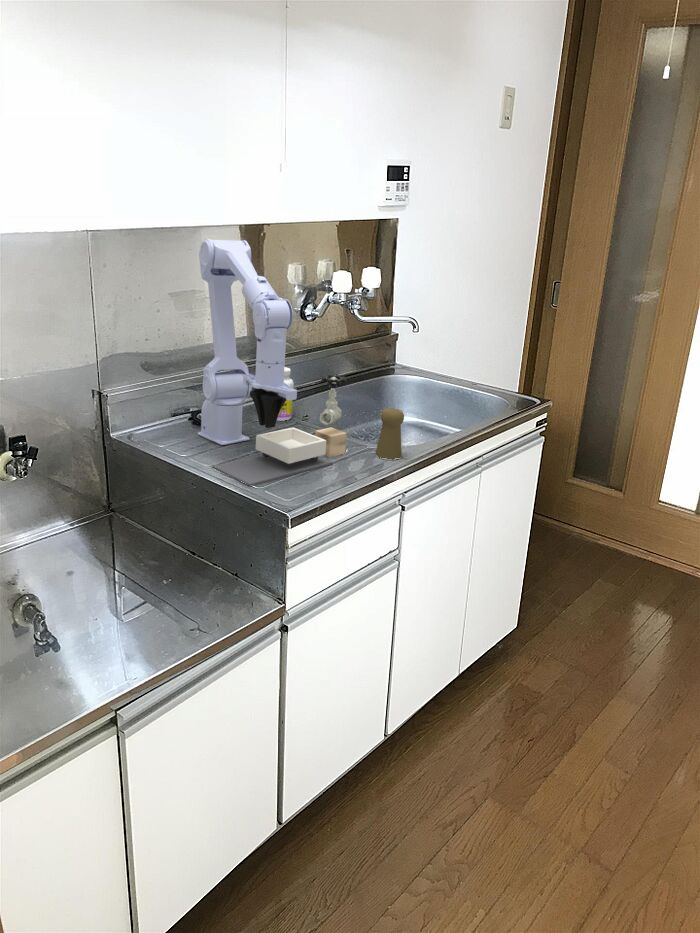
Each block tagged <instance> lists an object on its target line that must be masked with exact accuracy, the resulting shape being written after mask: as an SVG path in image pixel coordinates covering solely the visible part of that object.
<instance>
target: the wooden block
mask: <svg viewBox="0 0 700 933" xmlns="http://www.w3.org/2000/svg"><path fill="white" fill-rule="evenodd" d="M314 434H315V435H314V436H317V437H319V438H322V439H324V440H327V441H326V454H325V455H323V456H324V457H327V458H329V459H331V458H334V457H338V456H342V455H345V454H346V447H347V436H348V435H347V434H348V433H347V432H344V431H342V430H339V429H337V428H334V427H332V426H331V427H326V428H321V429H317V430H315V432H314ZM344 453H345V454H344ZM341 454H342V455H341Z"/></svg>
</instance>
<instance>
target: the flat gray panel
mask: <svg viewBox="0 0 700 933" xmlns="http://www.w3.org/2000/svg"><path fill="white" fill-rule="evenodd" d="M331 465H333V461H331V460H328V459H326V458H324V457H322V456H318V460H317V461H315V462H314V461H312V460H311V459H310V458H309V459H305V460H302V461H298V462H294V466H293V467H292V468H289V467H287V466H286V462H283V461H281V460H279V459H277V458H274V457H272V456H269V457H265V456H263V454H260V455H254V456H250V457H245V458H242V459H237V460H233V461H229V462H226V463H220V464H216V465H213V466H212V469H213V468H214V469H213V470H215V469H216V470H215V471H217V470H218V471H217V472H219V471H220V473H221V472H222V473H221V474H223V473H224V475H225V474H226V475H225V476H227V475H229V476H231V477H233V478H235V479H237V480H239V481H238V482H240V481H242V482H244V483H246V484H247V485H246V484H245V485H246V486H248V485H249V486H248V487H252V486H251V485H253V486H256V485H257V486H258V485H261V484H264V483H268V482H271V481H276V480H280V479H282V478H286V477H290V476H294V475H297V474H301V473H306V472H309V471H312V470H316V469H320V468H324V467H328V466H331ZM229 476H228V477H229ZM231 477H230V478H231ZM233 478H232V479H233ZM235 479H234V480H235ZM237 480H236V481H237ZM242 482H241V483H242ZM244 483H243V484H244Z"/></svg>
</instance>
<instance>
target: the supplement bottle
mask: <svg viewBox="0 0 700 933" xmlns="http://www.w3.org/2000/svg"><path fill="white" fill-rule="evenodd" d="M291 370H292V369H291V368H289V367H287V366H285V367H284V383H286V384H287V385H289V386H290V387H292V388H293V389H294V380H293V379H292V378H290V376H291V372H292V371H291ZM293 401H294V400H290V401H289V400H286V401H285V403H284V404H283V406H282V408H281V410H280V412H279V415H278V418H277V421H276V422H285V420H287V421H289V420H290V419H291V418H292V414H293V413H292V412H293Z"/></svg>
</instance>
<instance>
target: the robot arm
mask: <svg viewBox="0 0 700 933" xmlns="http://www.w3.org/2000/svg"><path fill="white" fill-rule="evenodd" d="M198 257H199V267H200V268H199V270H200V274H201V276H200V277H201V279H202V280H203V281H205V282H207V286H208V297H209V309H210V319H211V332H212V340H213V342H212V343H213V354H214V357H213V359H211V361H209V362H208V363H207V364H206V365H205V367H203V378H202V392H203V396H204V397H205V398H206V399H205V400H204V401H203V403H202V405H201V413H200V414H201V418H200V419H201V421H200V425H201V426H200V431H198V432H197V435H198V436H200V437H203V438H205V439H207V440H209V441H212V442H214V443H216V444H217V445H220V446H225V445H226V446H227V445H231V444H235V443H236V444H237V443H240V442H244V441H245V442H246V441H249V440H250V437H249V436H247V435H244V434H242V429H243V426H242V425H243V406H244V405H243V404H245V403H247V402H246V401H247V399H248V398H249V397H251V400H252V401H253V404H254V407H255V409H256V410H255V411H256V414H257V419H258V423H259V426H264V427H265V428H266V429H269V428H270V429H271V428H275V427H276V424H277V422H278V421H277V418H278V415H279V412H280V410H281V408H282V406H283V404H284V403H285V401H286V400H289V401H290V400H293V401H295V400H297V397H298V396H297V395H298V390H297V389H295V388H294V387H293V388H292V387H290V386H289V385H287V384H286V383H284V367H286V366H285V364H286V349H287V348H286V346H287V333H288V332H287V331H288V330H289V329H290V328H291V327H292V324H293V322H294V310H293V307H292V304H291V301H290V300H289V299H286V298H282V297H279V296H278V295H277V293H276V291H275V289H274V288H273V287H272V285H271V284H270V282H269V281H268V279H266V277H265V276H261V275H258V272H257V271H256V269H255V267H254V265H253V263H252V250H251V246H250V244H249V243H248V241H247V240H245V239H240V240H232V239H231V240H229V239H210V238H205V239H204V240H203V241H202V242H201V245H200V249H199V253H198ZM236 281H239V282H240V283H241V285H242V286H241V287H242V289H241V293H242V296H243V297H244V299H245V300H246V302H247V304H248V305H249V307H250V308H251V311H252V323H253V324H254V325H253V326H254V336H255V337H256V355H255V357H256V358H255V374H252V373H249V372H250V371H249V367H248V364H246V363H245V362H243V361H242V360H241V359H239V357H238V355H237V353H238V352H237V343H236V342H237V341H236V340H237V339H236V331H235V319H234V308H233V307H234V305H233V295H232V294H233V293H232V286H233V284H234V282H236ZM222 371H223V372H222ZM226 371H228V372H226ZM229 371H230V372H229ZM232 371H233V372H232ZM253 388H254V390H253Z"/></svg>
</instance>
